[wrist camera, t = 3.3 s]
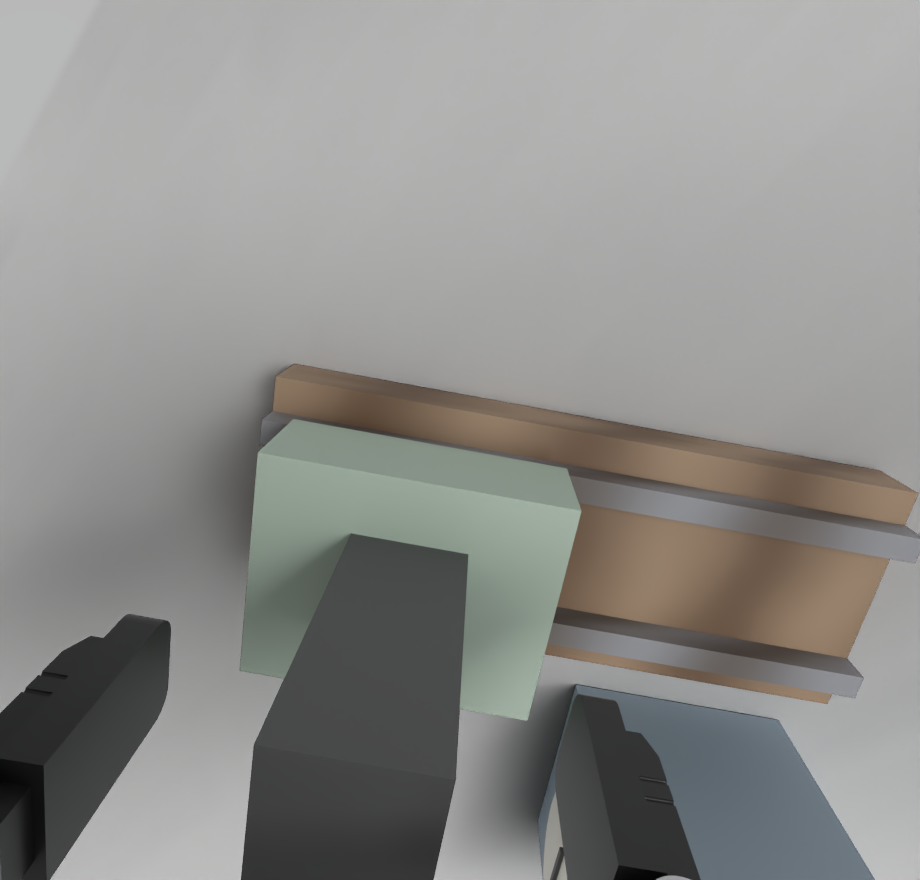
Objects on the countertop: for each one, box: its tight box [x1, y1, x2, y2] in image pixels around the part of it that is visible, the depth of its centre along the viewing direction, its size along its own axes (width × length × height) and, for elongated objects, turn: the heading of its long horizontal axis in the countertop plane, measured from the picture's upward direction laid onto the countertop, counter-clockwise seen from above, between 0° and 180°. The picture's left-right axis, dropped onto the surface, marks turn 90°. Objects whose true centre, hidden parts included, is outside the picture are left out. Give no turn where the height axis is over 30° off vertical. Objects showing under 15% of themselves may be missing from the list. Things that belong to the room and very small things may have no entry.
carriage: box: [240, 419, 581, 880], centre depth 15 cm, size 8×6×10 cm
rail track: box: [260, 364, 920, 704], centre depth 21 cm, size 20×8×3 cm, turn 80°
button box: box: [538, 685, 875, 880], centre depth 22 cm, size 8×7×8 cm
